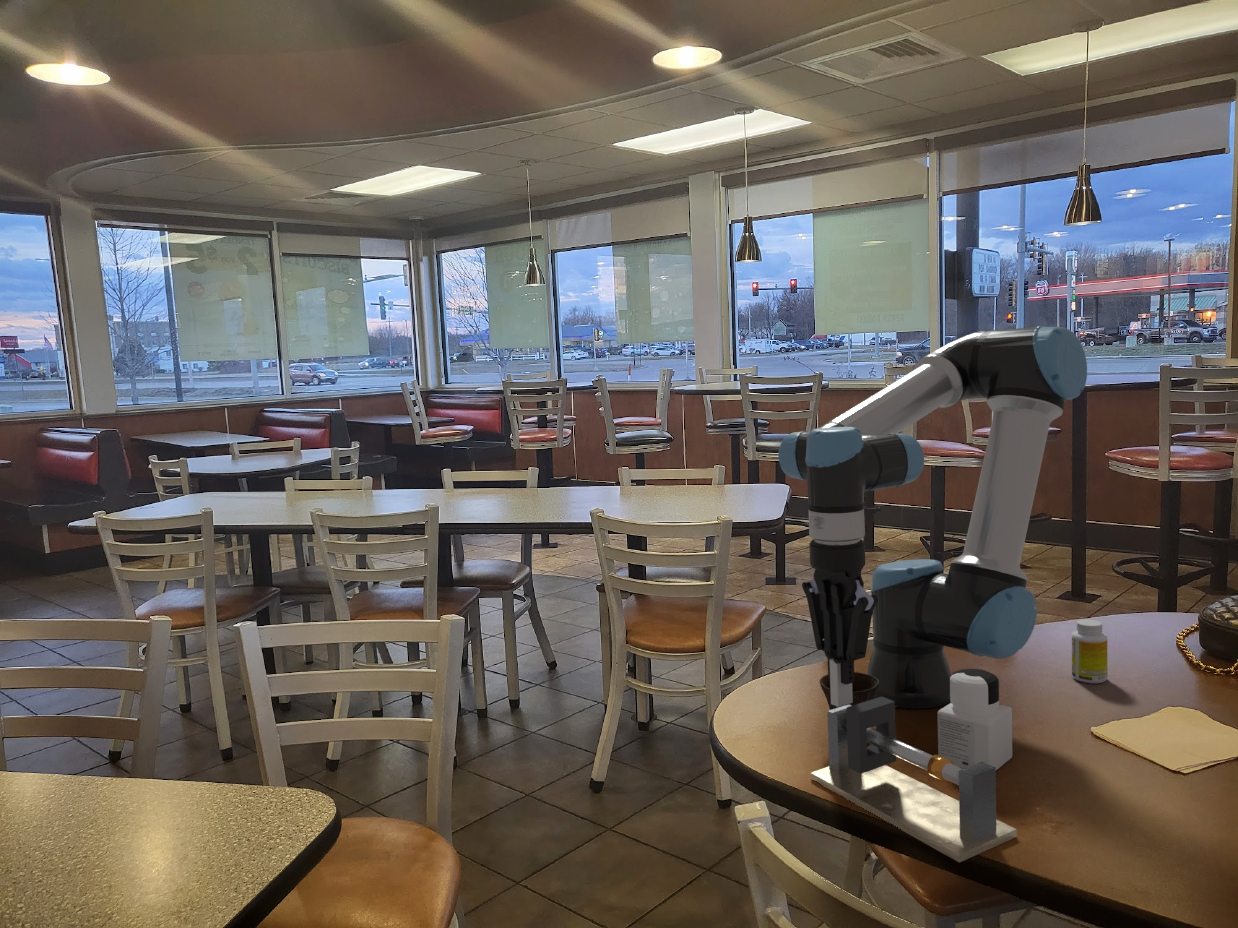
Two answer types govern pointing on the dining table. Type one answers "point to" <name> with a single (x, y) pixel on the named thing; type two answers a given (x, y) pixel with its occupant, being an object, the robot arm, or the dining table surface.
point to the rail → (919, 794)
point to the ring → (858, 721)
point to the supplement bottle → (1089, 652)
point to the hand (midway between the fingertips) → (841, 702)
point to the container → (975, 721)
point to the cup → (854, 688)
